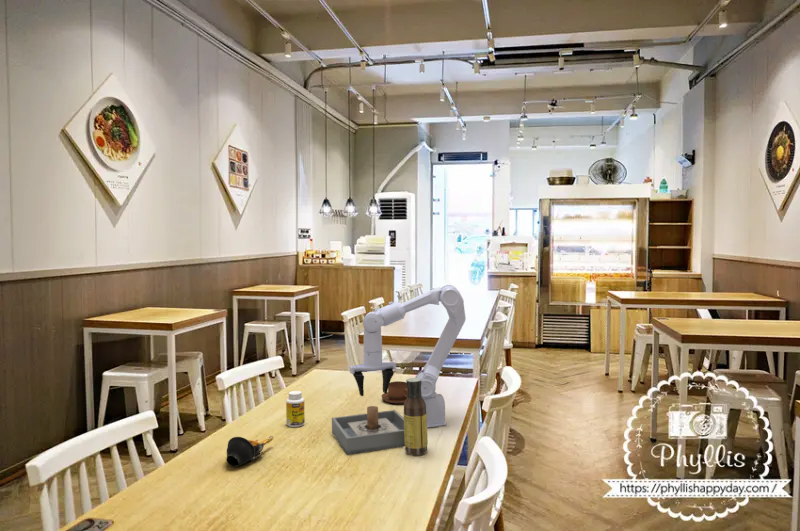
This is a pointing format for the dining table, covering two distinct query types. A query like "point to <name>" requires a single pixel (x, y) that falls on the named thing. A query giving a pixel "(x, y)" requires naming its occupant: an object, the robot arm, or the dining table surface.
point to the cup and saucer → (396, 392)
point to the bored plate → (361, 429)
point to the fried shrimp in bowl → (244, 450)
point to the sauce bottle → (415, 419)
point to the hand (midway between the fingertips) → (373, 393)
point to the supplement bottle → (295, 409)
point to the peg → (372, 417)
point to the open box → (371, 440)
